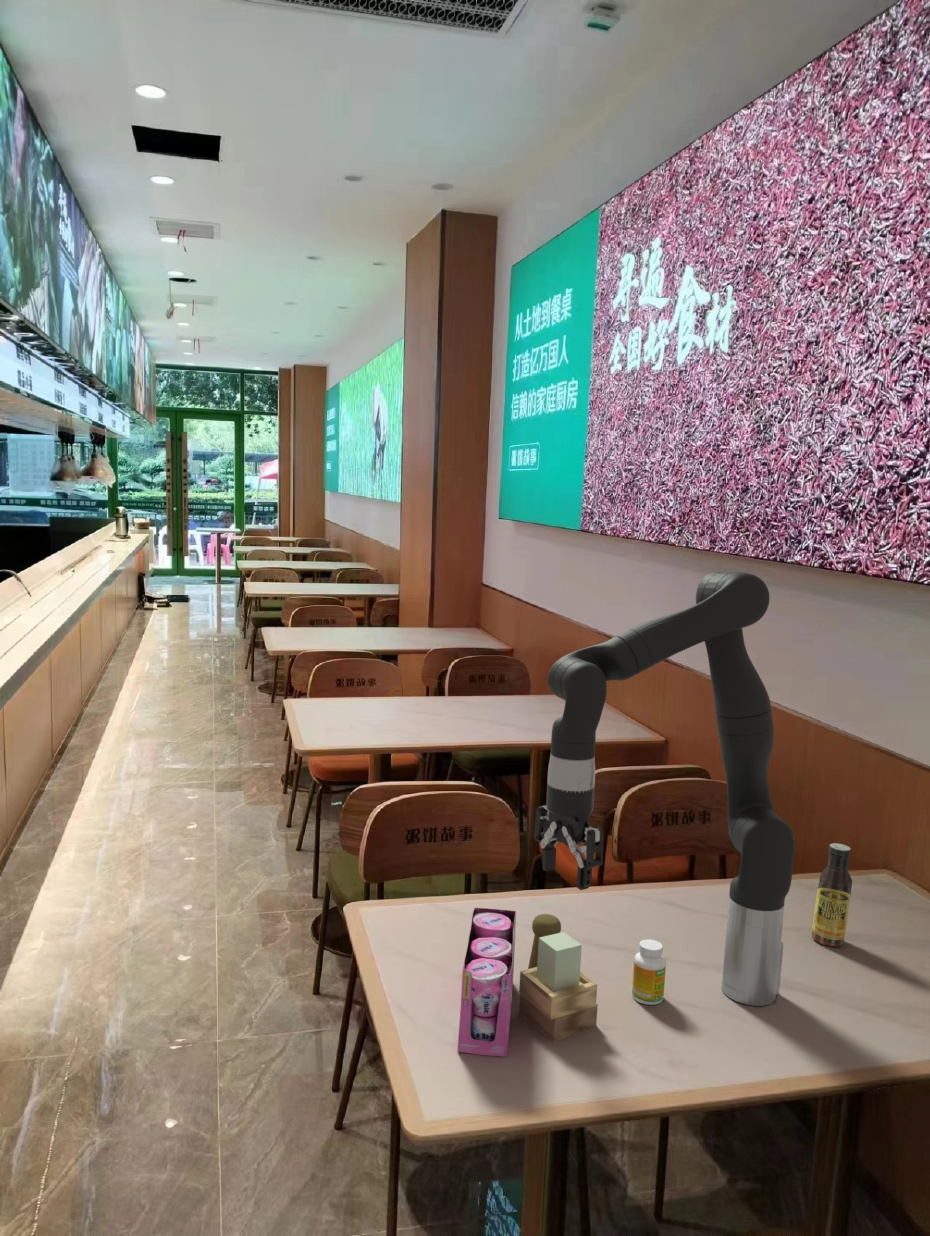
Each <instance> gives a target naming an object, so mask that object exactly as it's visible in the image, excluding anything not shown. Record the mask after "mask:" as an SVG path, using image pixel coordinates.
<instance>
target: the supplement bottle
mask: <svg viewBox="0 0 930 1236" xmlns="http://www.w3.org/2000/svg"><path fill="white" fill-rule="evenodd" d="M663 950H664V946H663V944H662V943H661V942H660V941H658V940H654V939H643V940H641V941H640V942H639V946H638V952H636V954H635V956H634V961H633V972H632V988H631V995H632V997H633V999H634V1000H635V1001H637V1002H638V1003H639V1004H643V1005H648V1006H649V1005H650V1006H655V1005H656V1006H657V1005H659V1004H661V1003H662V1002H663V1000H664V995H665V980H666V968H667V967H666V966H667V961H666V958H665V957H664V956H663Z"/></svg>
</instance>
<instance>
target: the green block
mask: <svg viewBox="0 0 930 1236" xmlns="http://www.w3.org/2000/svg"><path fill="white" fill-rule="evenodd" d="M582 946H583V945H582V944H581V943H580V942H578V941H577V940H575V939H574V938H573V937H571V936H570V935H569V934H567V932H564V931H563V932H561V931H560V933H557V934H553V935H549V936H544V937H540V938H539V944H538V962H537V979H538V980H540V981H541V982H542V983H543V984H544V985H546V986H547V987H548V988H549V989H550V990H552V991H553V992H558V991H561V990H565V989H568V988H572V987H575V986H579V981H580V972H581V965H582V964H581V963H582V962H581V961H582V960H581V959H582V948H583V947H582Z"/></svg>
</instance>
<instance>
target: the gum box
mask: <svg viewBox="0 0 930 1236" xmlns="http://www.w3.org/2000/svg"><path fill="white" fill-rule="evenodd" d="M471 915H472V916H471V921H470V929H469V935H468V939H467V944H466V945H467V946H466V952H465V955H464V959H463V964H462V971H461V972H462V974H461V992H460V994H461V995H460V1009H459V1011H460V1013H459V1023H458V1025H459V1027H458V1040H457V1052H458V1053H465V1054H474V1055H481V1056H494V1057H501V1058H502V1057H504V1058H507V1056H508V1044H509V1037H510V1036H509V1035H510V1024H511V1016H512V1015H511V1014H512V1003H513V1002H512V1001H513V987H514V970H515V969H514V967H515V947H516V920H517V919H516V918H517V910H510V909H509V910H508V909H498V908H486V907H474V908H473V910H472V914H471Z"/></svg>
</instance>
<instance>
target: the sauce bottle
mask: <svg viewBox="0 0 930 1236" xmlns="http://www.w3.org/2000/svg"><path fill="white" fill-rule="evenodd" d="M851 854H852V847H850V846H848V845H846V844H843V843H839V842H838V843H836V842H834V843H830V844H829V846H828V862H827V865H826V866H825V868H824V869H823V871H821V872H820V875H819V880H818V881H819V882H818V886H817V891H816V896H815V897H816V898H815V904H814V912H813V919H812V926H811V929H812V931H811V937H812V939H813V940H814V941H815V942H817V943H819V944H821V945H823V946H826V947H835V948H836V947H841V946H842V945H843V944H844V942H845V937H846V932H847V924H848V919H849V911H850V906H851V905H850V904H851V897H852V888H853V887H852V885H853V879H852V877H851V875H850V873H849V862H850V856H851Z"/></svg>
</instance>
